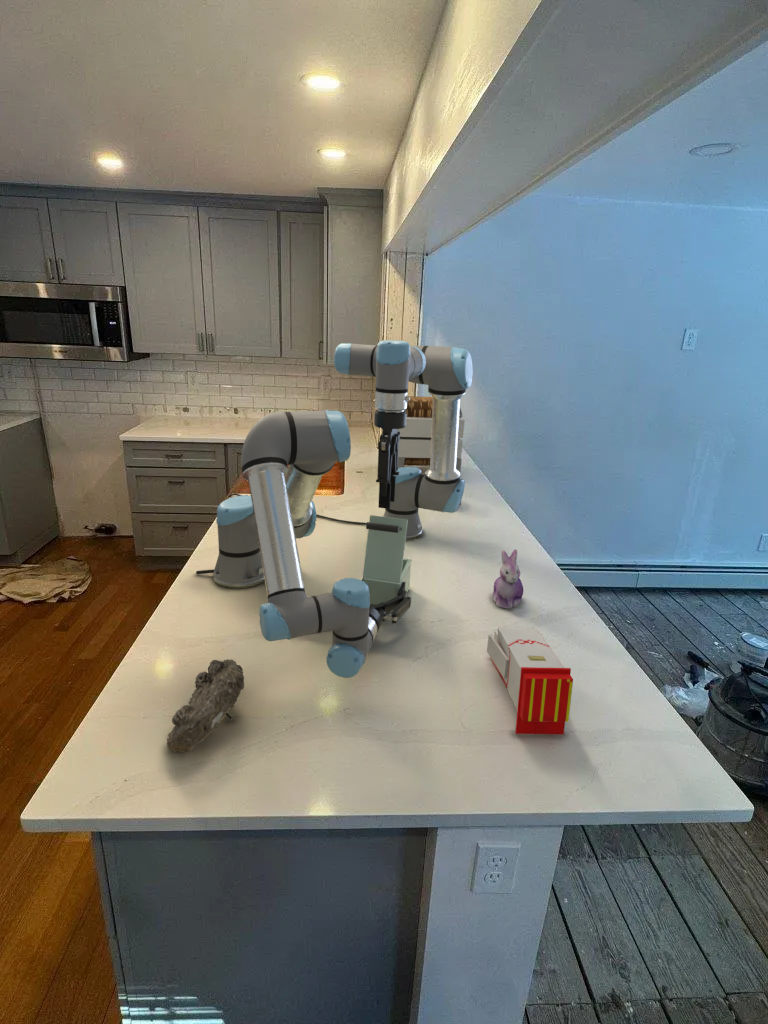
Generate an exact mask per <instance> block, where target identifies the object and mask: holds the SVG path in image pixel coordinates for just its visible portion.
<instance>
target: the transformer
mask: <svg viewBox="0 0 768 1024" xmlns="http://www.w3.org/2000/svg"><path fill="white" fill-rule="evenodd" d="M407 397H410V400H409V401H407V408H406V409H405V410H404V411H406V413H407V418H406V426H405V427H404V428H402V429H397V431H399V432H400V438H399V455H398V468H402V467H405V466H406V467H417V466H418V467H430V455H431V430H432V405H433V397H432V396H415V395H414V396H413V395H412V396H411V395H407ZM464 429H465V419H464V418H463V411H462V408H461V407H460V411H459V427H458V443H457V459H456V469H457V470H458V471H459V472H460V475H461V472H462V461H463V460H462V453H463V442H464V441H463V440H462V439H463V438H464V431H465V430H464Z"/></svg>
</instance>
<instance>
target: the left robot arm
mask: <svg viewBox="0 0 768 1024" xmlns="http://www.w3.org/2000/svg"><path fill="white" fill-rule="evenodd" d="M351 442H352V441H351V433H350V429H349V425H348V421H347V419H346V416H345V415H344V413H343V412H341V411H339V410H329V409H322V410H298V411H274V412H271V413H268V414H266V415H264V416H263V417H261V418H260V419H258V420H257V421H256V422H255V424H254V425H253V426H252V427H251V429H250V430H249V431H248V433H247V435H246V437H245V439H244V442H243V445H242V449H241V455H240V467H241V473H242V478H243V479H244V480H245V481H247V482H248V486H249V487H248V488H249V493H250V495H248V494H244V495H243V494H241V495H242V496H236V495H235V496H233V497H232V496H231V497H228V498H227V499H224V500H223V501H222V502H220V503H219V504H218V506H217V508H216V524H217V538H218V539H217V541H218V543H217V544H218V556H217V559H216V563H215V566H214V569H201V570H196V571H195V574H196V575H204V574H206V575H207V574H213V580H214V583H216V584H217V585H219V586H220V587H222V588H228V589H248V588H252V587H256V586H259V585H261V584H264V585H265V590H266V598H267V602H266V603H262V604H260V606H259V609H258V618H259V626H260V631H261V634H262V638H264V640H265V641H267V642H277V641H283V640H284V641H285V640H287V641H288V640H289V641H290V640H291V639H295V638H301V637H305V636H311V635H317V634H322V633H323V634H324V633H328V632H332V633H331V634H332V637H331V638H332V640H331V646H330V647H329V648H328V651H327V655H326V659H325V660H326V661H325V662H326V666H327V667H328V669H329V670H330V672H331V673H332V674H333V675H335V676H337V677H339V678H343V679H348V678H353V677H355V676H357V674H358V673H359V672H360V671H361V669H362V667H363V666H365V665H364V664H365V663H366V659H367V657H368V655H369V653H370V650H371V648H372V646H373V644H374V641H375V639H376V637H377V635H378V633H379V631H380V628H381V627H382V623H384V622H385V621H391V624H394V625H395V624H396V625H397V623H398V620H399V619H400V618H401V617H402V615H404V614H405V613H406V612H407V611H408V610H409V609H410V608H411V606H412V605H411V604H412V597H411V596H407V594H408V592H407V591H405V582H402V585H401V587H400V589H399V591H398V593H397V597H395V598H393V599H391V600H389V601H387V602H385V603H384V602H381V603H379V604H370V594H369V587H368V585H367V584H366V583H365V582H364V581H363V579H364V578H363V577H362V578H361V579H359V578H354V577H345V578H341V579H340V580H337V581H335V582H334V583H333V585H332V589H331V592H328V593H323V594H317V595H310V596H307V594H306V588H305V581H304V576H303V571H302V566H301V565H302V564H301V560H300V555H299V549H298V544H297V539H302V538H306V537H310V536H311V535H312V534H313V533H314V531H315V528H316V525H317V523H316V522H317V516H316V514H317V508H316V505H315V503H314V501H313V499H314V496H315V494H316V491H317V490H318V487H319V485H320V482H321V480H322V478H323V476H324V475H325V474H328V473H329V472H330V471H331V470H332V469H333V468H334V466H335V464H336V463H338V462H339V463H343V462H346V461H348V460H349V459H350V456H351V450H352V448H351V447H352V444H351ZM389 612H390V613H389Z"/></svg>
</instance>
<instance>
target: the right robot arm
mask: <svg viewBox="0 0 768 1024" xmlns="http://www.w3.org/2000/svg"><path fill="white" fill-rule="evenodd" d="M333 364H334V369H335V370H336V372H337V373H339V374H343V375H348V376H361V377H374V378H375V389H374V408H375V411H374V414H373V415H374V417H373V419H374V421H373V424H374V426H375V427H376V428H379V429H381V430H382V432H381V434H379V440H378V443H377V448H378V451H377V454H378V455H377V477H376V479H375V483H379V484H378V508H379V509H384V513H383V515H382V517H390V518H398V519H406V520H408V524H407V532H406V541H410V540H415V539H418V538H420V537H421V536H422V535H423V525H422V522H421V518H420V515H419V509H424V510H429V511H433V512H441V513H450V514H453V513H456V512H457V511H458V509H459V508H460V506H461V505H460V503H461V504H462V500H463V496H464V493H465V492H464V491H465V489H466V481H465V479H462V478H461V474H460V472H459V471H458V470H457V469H456V459H457V443H458V427H459V411H460V408H461V398H462V397H463V396H464V395H466V391H467V390H468V389H470V388H471V386H472V383H473V377H474V369H473V368H474V367H473V360H472V355H471V353H470V352H469V350H467V349H466V348H461V347H456V346H440V345H439V346H437V345H423V344H422V345H420V344H419V345H410V343H409V342H408V341H406V340H397V339H396V340H394V339H393V340H392V339H388V340H387V339H386V340H385V339H384V340H379V342H378V343H377V345H375V344H374V345H373V344H362V343H361V344H360V343H351V342H349V343H339V344H338V345H336V348H335V350H334V353H333ZM409 383H412V384H418V385H426V386H428V387H427V391H428V393H429V395H430V397H433V405H432V430H431V455H430V466H429V468H427V469H426V470H425V471H424V473H422V469H421V468H419V467H417V466H404V467H402V468H398V455H399V438H400V432H399V431H397V429H402V428H404V427H405V426H406V418H407V413H406V411H404V410H405V409H406V408H407V401H409V400H410V397H407V396H408V393H409ZM242 495H243V494H240V493H231V494H229V495H228V496H227V497H228V498H232V496H233V497H234V496H235V497H236V496H242ZM459 505H460V506H459ZM317 517H318V518H321V519H325V520H329V521H335V522H339V523H345V524H351V525H353V524H354V525H365V526H366V524H367V522H363V521H351V520H344V519H338V518H333V517H330V516H329V517H328V516H325V515H320V514H317V513H316V518H317Z"/></svg>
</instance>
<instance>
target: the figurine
mask: <svg viewBox="0 0 768 1024" xmlns="http://www.w3.org/2000/svg"><path fill="white" fill-rule="evenodd" d="M517 557H518V549H516V548H515V549H514V550H513V551H512V552H511V554H510V556H509V555H508V553H507V552H506V551H505V550H504V549H503V550H501V566H500V569H499V577H497V578H496V579H495V580H494V583H493V591H492V600H493V601H494V603H495V604H496V606H497V607H499V608H504V609H512V608H515V607H518V606H519V605H520V604H521V602H522V599H523V596H524V585H523V582H522V580H521V579H520V576H521V570H520V567H519V565H518V563H517V559H518V558H517Z"/></svg>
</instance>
